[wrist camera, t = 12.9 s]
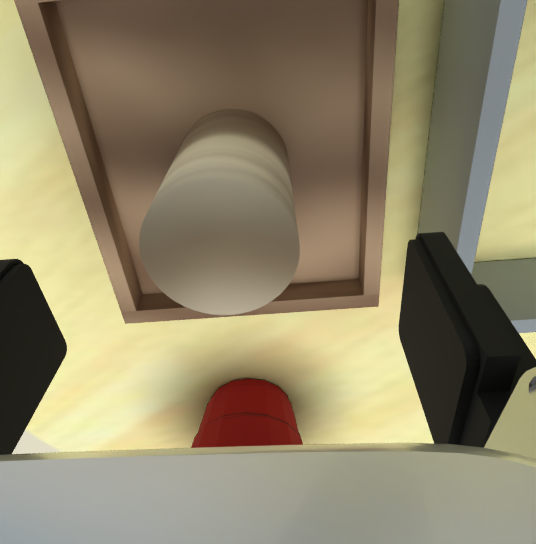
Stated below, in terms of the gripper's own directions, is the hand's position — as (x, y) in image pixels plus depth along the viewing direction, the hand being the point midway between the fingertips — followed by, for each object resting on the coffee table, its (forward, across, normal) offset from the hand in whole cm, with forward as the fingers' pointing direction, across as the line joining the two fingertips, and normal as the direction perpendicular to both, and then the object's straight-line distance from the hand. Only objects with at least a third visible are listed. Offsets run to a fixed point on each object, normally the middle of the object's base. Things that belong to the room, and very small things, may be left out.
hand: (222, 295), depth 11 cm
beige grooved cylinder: (+11, +1, +1) cm, 11 cm away
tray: (+12, +1, +1) cm, 12 cm away
